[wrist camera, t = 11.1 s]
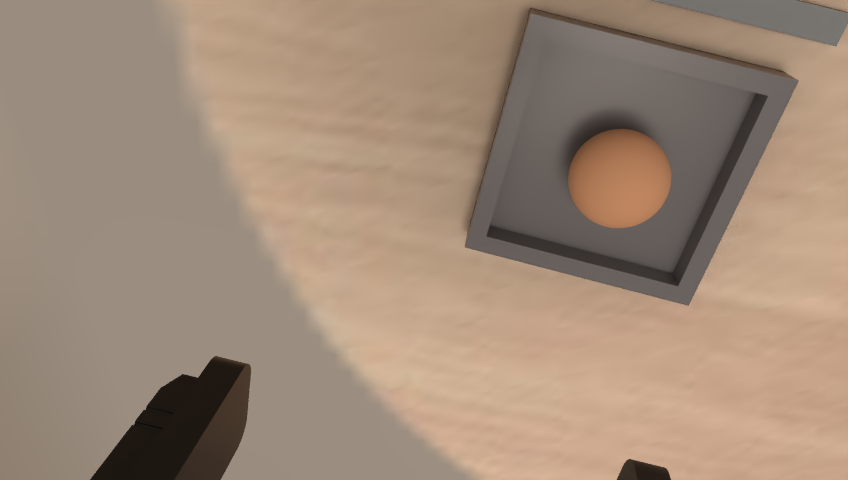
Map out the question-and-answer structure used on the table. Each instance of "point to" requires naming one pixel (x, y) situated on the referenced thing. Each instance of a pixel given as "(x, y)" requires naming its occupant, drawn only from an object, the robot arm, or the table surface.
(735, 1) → the distance line
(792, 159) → the table surface
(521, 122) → the tray
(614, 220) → the ball
